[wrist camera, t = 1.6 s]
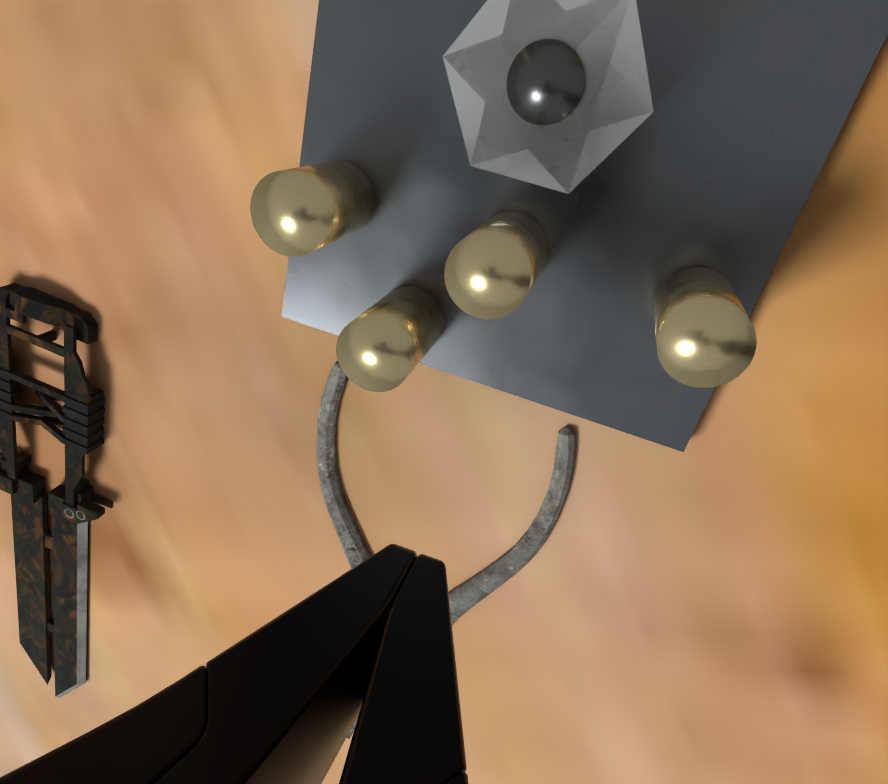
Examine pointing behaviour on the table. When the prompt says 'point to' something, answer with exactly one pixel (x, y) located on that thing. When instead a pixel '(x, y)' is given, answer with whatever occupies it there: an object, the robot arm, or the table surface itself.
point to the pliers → (483, 580)
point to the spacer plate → (562, 208)
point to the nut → (549, 86)
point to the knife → (65, 502)
